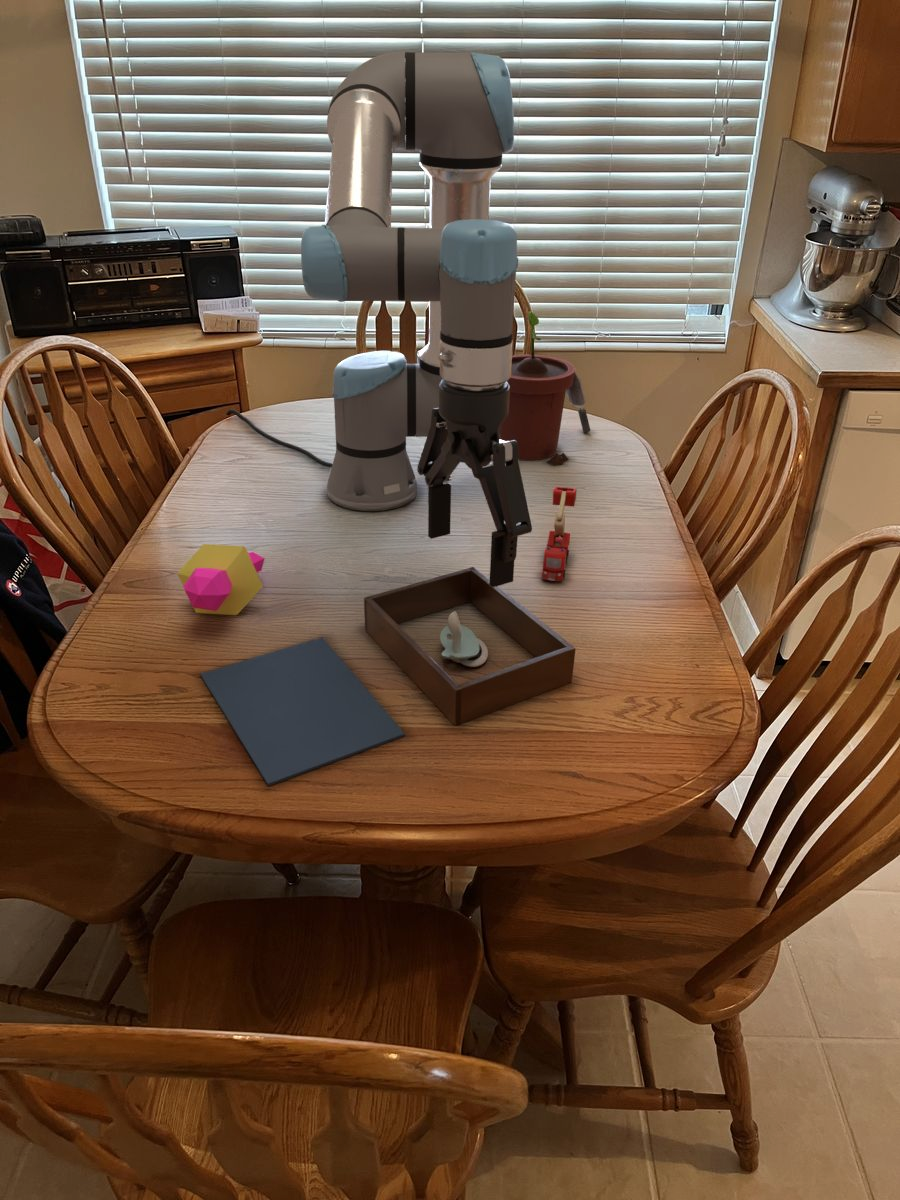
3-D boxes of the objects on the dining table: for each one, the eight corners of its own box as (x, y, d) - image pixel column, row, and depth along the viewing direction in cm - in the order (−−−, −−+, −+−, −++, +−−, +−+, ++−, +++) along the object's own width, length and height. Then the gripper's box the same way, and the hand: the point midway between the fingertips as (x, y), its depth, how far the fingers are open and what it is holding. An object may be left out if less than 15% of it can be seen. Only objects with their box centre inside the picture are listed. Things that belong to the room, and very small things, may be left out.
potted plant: (482, 430, 180) (487, 303, 167) (589, 431, 181) (602, 304, 168) (488, 465, 165) (494, 327, 152) (605, 465, 166) (621, 328, 153)
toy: (288, 585, 128) (258, 518, 126) (252, 619, 111) (216, 542, 109) (225, 609, 130) (195, 543, 128) (180, 646, 113) (144, 571, 111)
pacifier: (485, 639, 116) (438, 639, 116) (488, 598, 113) (441, 597, 113) (490, 672, 110) (441, 672, 110) (494, 630, 107) (444, 629, 106)
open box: (364, 630, 117) (363, 597, 115) (471, 597, 125) (473, 566, 122) (454, 726, 101) (456, 690, 98) (572, 682, 108) (575, 648, 106)
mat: (200, 676, 108) (200, 673, 108) (322, 639, 115) (322, 637, 115) (268, 786, 92) (267, 783, 92) (404, 736, 99) (404, 733, 99)
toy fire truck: (540, 582, 129) (545, 522, 124) (550, 539, 140) (555, 482, 135) (563, 585, 128) (569, 524, 123) (571, 541, 140) (577, 484, 135)
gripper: (387, 355, 102) (390, 524, 113) (512, 421, 84) (501, 614, 95) (444, 347, 105) (441, 511, 116) (576, 409, 87) (558, 596, 98)
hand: (468, 558), depth 106 cm, fingers open, 13 cm apart
